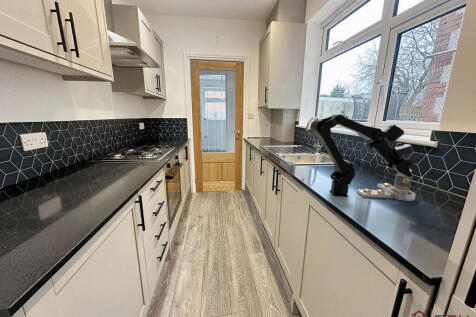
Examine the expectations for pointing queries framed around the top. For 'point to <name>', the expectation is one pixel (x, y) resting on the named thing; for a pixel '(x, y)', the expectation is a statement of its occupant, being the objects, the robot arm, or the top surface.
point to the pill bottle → (402, 182)
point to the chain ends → (387, 193)
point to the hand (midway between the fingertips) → (407, 174)
